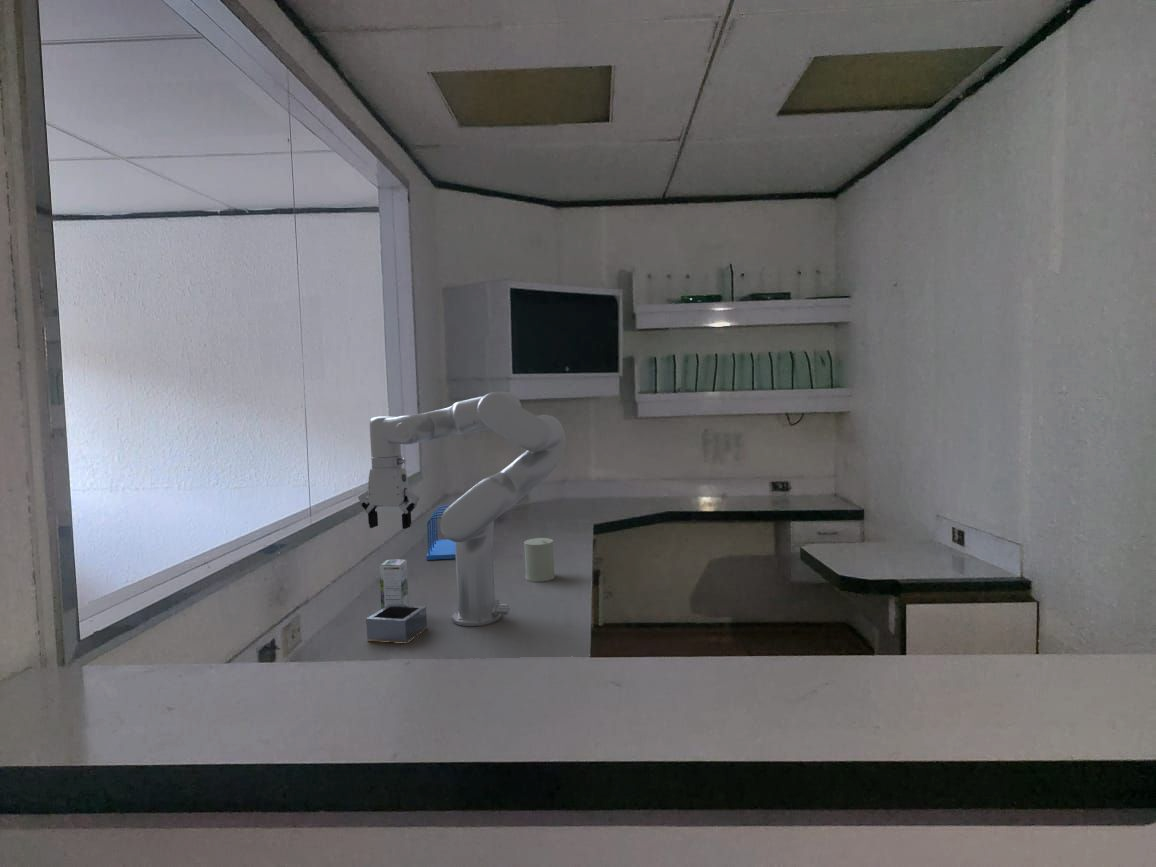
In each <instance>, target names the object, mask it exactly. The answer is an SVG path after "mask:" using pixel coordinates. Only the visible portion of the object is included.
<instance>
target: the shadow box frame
mask: <svg viewBox="0 0 1156 867" xmlns="http://www.w3.org/2000/svg"><path fill="white" fill-rule="evenodd" d="M365 622H366V637H367V639H366V640H367V642H368V641H389V642H403V643H404V642H406V643H407V642H408V641H409V640H411V639H412V638H413V637H415V636H416V635H417V634H419V633H420V632H422V631H423V630H424V629H426V628H427V629H428V620H427V606H425V605H423V606H421V605H420V606H419V605H408V606H406V605H387V606H386V607H384V608H382V609H381V608H380V609H379V610H378V611H376V612H374V613H373V614H371V615H370V616H368V617H367V618H365ZM427 629H426V630H427ZM424 631H425V630H424ZM424 631H423V632H424ZM423 632H422V633H423ZM420 634H421V633H420ZM420 634H419V635H420ZM415 638H416V637H415ZM411 641H412V640H411ZM407 644H408V643H407Z"/></svg>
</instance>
